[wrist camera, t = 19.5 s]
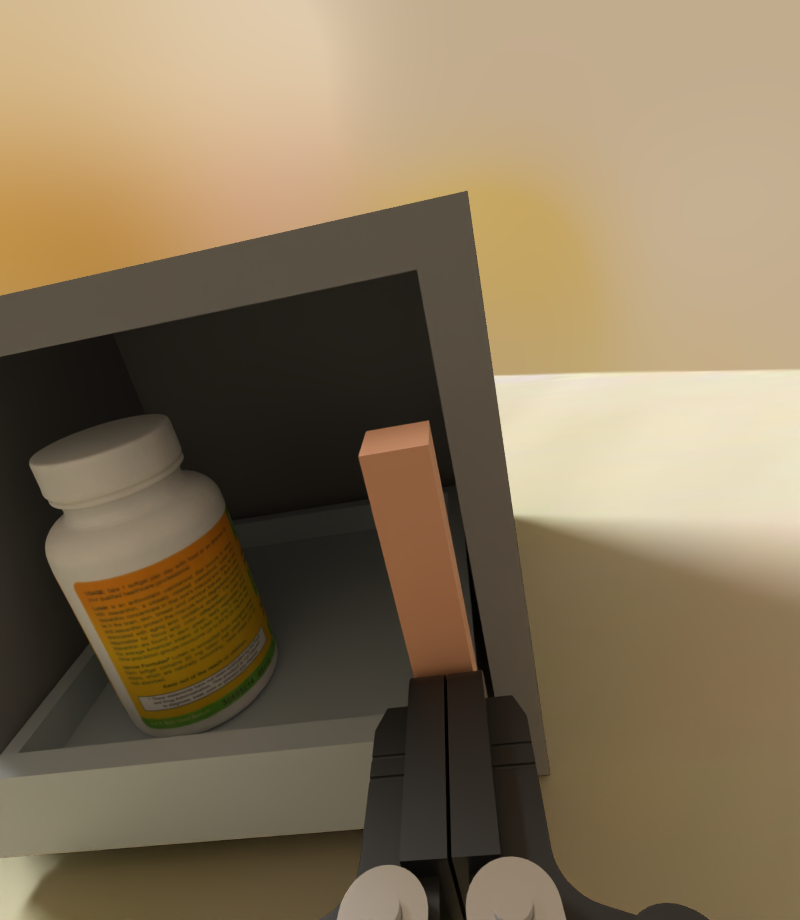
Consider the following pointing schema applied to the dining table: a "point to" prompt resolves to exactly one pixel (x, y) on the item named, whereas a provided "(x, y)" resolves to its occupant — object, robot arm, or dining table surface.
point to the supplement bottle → (155, 575)
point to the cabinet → (265, 405)
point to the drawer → (287, 692)
